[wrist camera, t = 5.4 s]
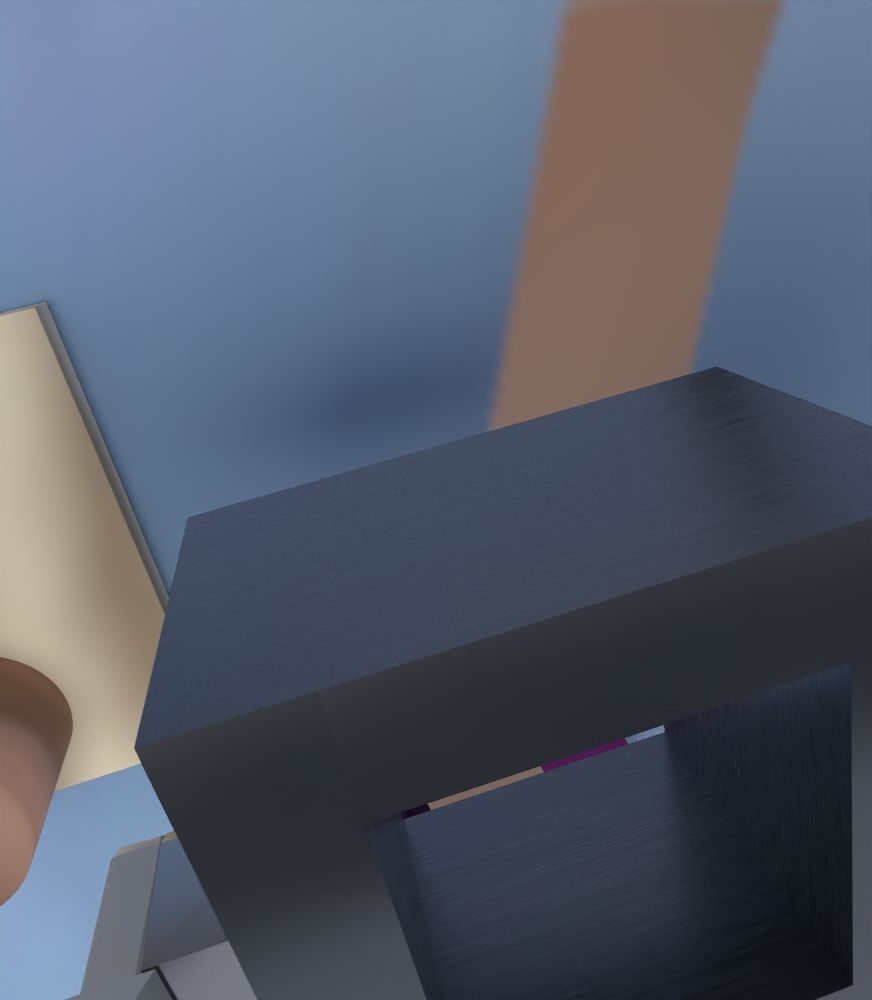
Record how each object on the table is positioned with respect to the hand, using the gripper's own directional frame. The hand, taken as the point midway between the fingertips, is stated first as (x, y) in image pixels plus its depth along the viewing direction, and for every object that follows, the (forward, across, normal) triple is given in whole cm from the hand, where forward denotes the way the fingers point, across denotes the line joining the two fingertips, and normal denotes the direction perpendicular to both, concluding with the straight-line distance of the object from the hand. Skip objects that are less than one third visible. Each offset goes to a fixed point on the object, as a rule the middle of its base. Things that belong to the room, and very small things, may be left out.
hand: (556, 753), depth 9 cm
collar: (+2, 0, 0) cm, 2 cm away
